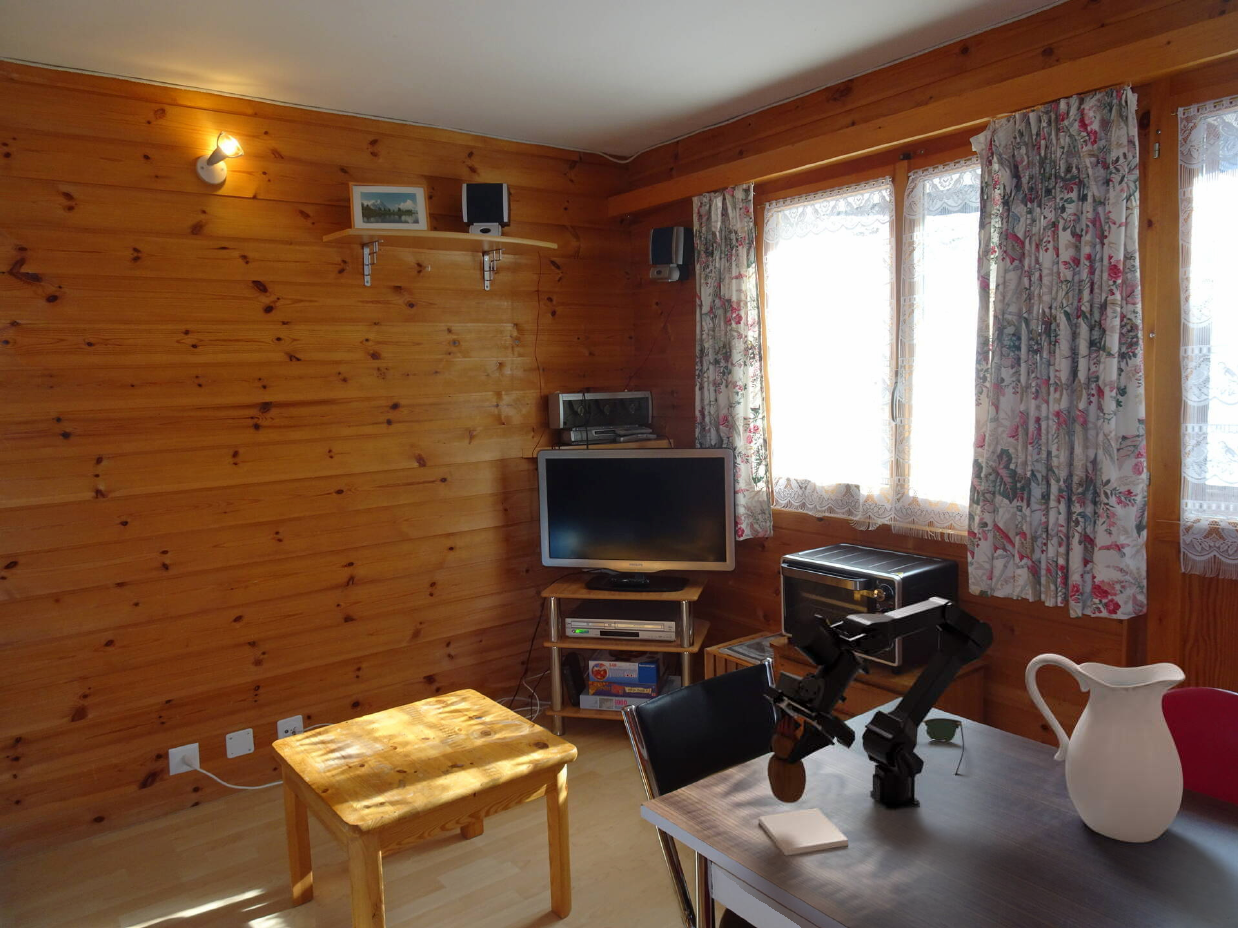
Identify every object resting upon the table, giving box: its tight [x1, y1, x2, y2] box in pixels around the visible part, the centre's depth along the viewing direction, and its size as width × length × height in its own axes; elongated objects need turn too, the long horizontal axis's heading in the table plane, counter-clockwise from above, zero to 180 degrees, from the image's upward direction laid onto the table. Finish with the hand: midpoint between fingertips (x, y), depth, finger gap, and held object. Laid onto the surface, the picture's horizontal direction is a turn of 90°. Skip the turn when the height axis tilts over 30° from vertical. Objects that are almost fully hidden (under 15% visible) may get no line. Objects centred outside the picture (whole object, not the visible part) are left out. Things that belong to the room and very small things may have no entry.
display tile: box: [758, 807, 849, 856], centre depth 146 cm, size 11×11×1 cm
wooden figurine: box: [767, 716, 807, 804], centre depth 146 cm, size 7×6×15 cm
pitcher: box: [1024, 653, 1186, 844], centre depth 147 cm, size 24×17×28 cm
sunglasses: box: [922, 717, 965, 776], centre depth 175 cm, size 16×17×5 cm
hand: (779, 756), depth 146 cm, fingers closed on wooden figurine, 5 cm apart
